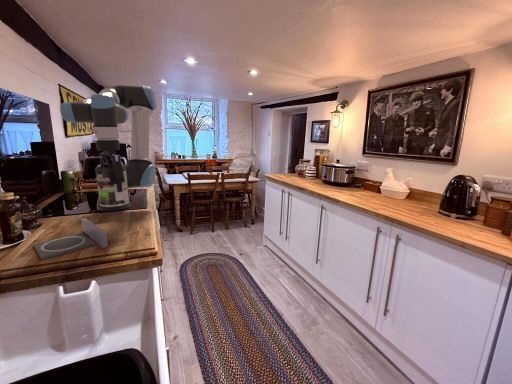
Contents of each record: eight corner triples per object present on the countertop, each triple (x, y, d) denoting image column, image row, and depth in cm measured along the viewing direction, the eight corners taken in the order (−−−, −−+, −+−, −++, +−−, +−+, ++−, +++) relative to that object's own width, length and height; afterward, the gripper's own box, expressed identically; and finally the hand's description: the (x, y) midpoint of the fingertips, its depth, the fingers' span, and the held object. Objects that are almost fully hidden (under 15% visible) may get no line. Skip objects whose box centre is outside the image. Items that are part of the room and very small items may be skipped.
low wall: (82, 230, 98) (81, 218, 97) (87, 229, 99) (85, 217, 98) (102, 247, 84) (101, 233, 82) (107, 246, 85) (106, 232, 84)
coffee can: (113, 208, 91) (108, 170, 88) (93, 205, 95) (88, 168, 91) (135, 201, 101) (132, 166, 97) (116, 198, 104) (112, 165, 101)
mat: (33, 246, 84) (33, 243, 84) (82, 234, 94) (81, 232, 94) (41, 259, 75) (41, 257, 75) (94, 245, 85) (94, 242, 85)
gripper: (86, 138, 96) (93, 194, 102) (107, 140, 82) (115, 205, 87) (107, 138, 102) (113, 191, 107) (131, 140, 88) (137, 201, 93)
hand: (114, 197), depth 97 cm, fingers closed on coffee can, 10 cm apart
